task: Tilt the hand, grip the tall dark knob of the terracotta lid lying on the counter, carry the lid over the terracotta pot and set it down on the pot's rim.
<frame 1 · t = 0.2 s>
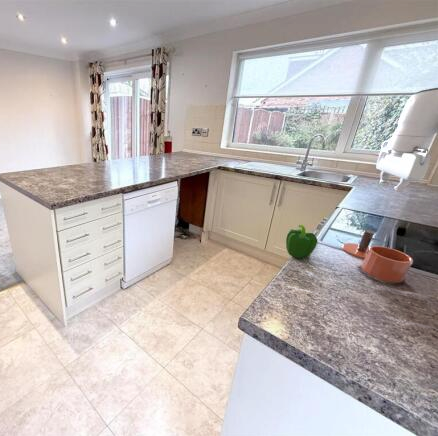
hand: (389, 188, 82), 21 cm above the worktop, tool pointing down, fingers open, 8 cm apart
bell pepper: (296, 255, 81), on the worktop
lid: (360, 251, 83), point 1 cm above the worktop
pot: (380, 274, 72), on the worktop
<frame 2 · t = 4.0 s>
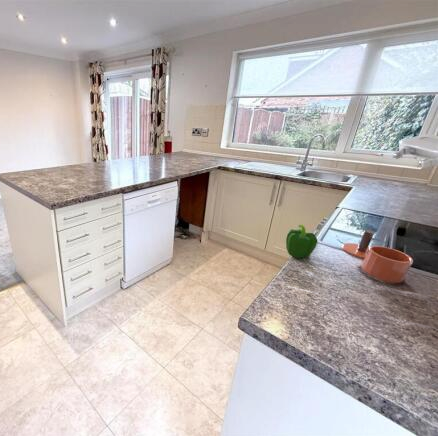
hand: (406, 160, 74), 31 cm above the worktop, tool tilted 65°, fingers open, 8 cm apart
nothing on the worktop moved.
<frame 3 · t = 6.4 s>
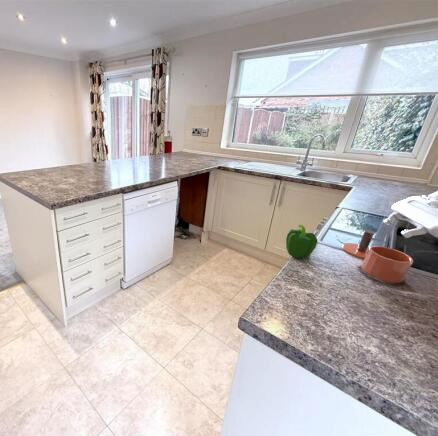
hand: (393, 229, 78), 10 cm above the worktop, tool tilted 45°, fingers open, 8 cm apart
nothing on the worktop moved.
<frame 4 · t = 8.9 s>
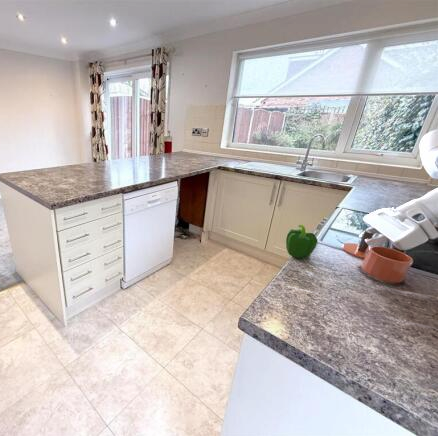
hand: (363, 240, 82), 5 cm above the worktop, tool tilted 45°, fingers closed on lid, 2 cm apart
lid: (360, 251, 83), point 1 cm above the worktop, touching gripper
everything else where it was.
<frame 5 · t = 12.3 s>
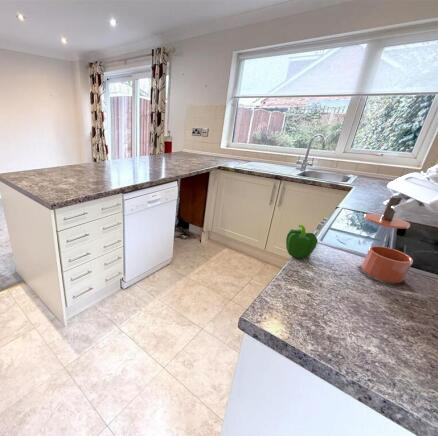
hand: (389, 207, 72), 18 cm above the worktop, tool tilted 45°, fingers closed on lid, 2 cm apart
lid: (385, 221, 73), point 14 cm above the worktop, touching gripper
everything else where it was.
when the fingers open (11 cm above the worktop, at t = 15.6 s): lid stays where it is, resting on pot.
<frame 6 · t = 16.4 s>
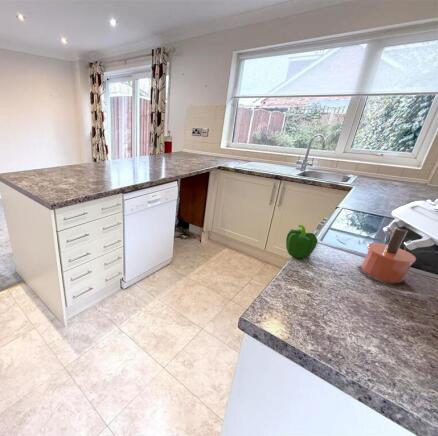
hand: (394, 238, 68), 12 cm above the worktop, tool tilted 45°, fingers open, 8 cm apart
lid: (389, 253, 70), point 7 cm above the worktop, touching pot
everything else where it was.
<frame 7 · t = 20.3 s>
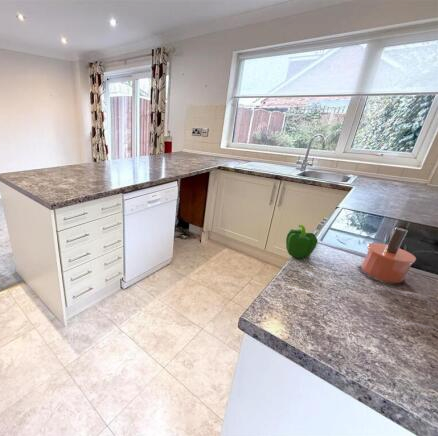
nothing on the worktop moved.
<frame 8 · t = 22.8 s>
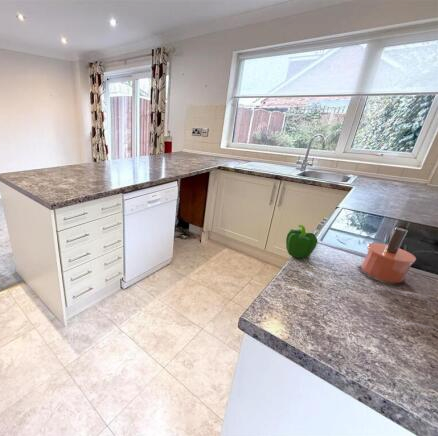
nothing on the worktop moved.
at the end: lid 0.1 cm off-centre on the pot, point 7.0 cm above the pot's base; lid tilted 0°; the gripper is holding nothing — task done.
